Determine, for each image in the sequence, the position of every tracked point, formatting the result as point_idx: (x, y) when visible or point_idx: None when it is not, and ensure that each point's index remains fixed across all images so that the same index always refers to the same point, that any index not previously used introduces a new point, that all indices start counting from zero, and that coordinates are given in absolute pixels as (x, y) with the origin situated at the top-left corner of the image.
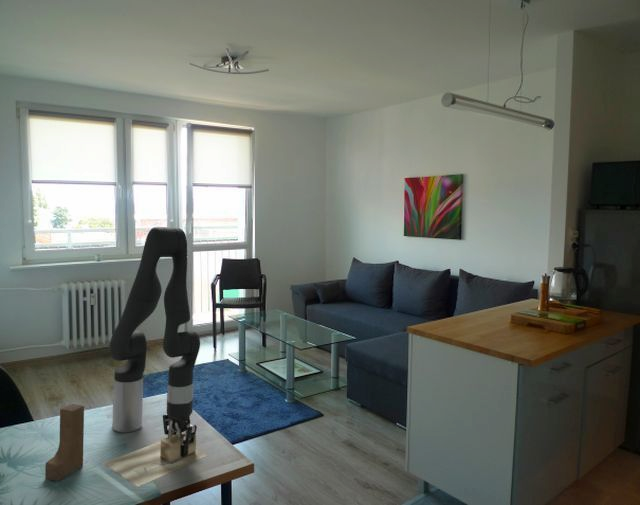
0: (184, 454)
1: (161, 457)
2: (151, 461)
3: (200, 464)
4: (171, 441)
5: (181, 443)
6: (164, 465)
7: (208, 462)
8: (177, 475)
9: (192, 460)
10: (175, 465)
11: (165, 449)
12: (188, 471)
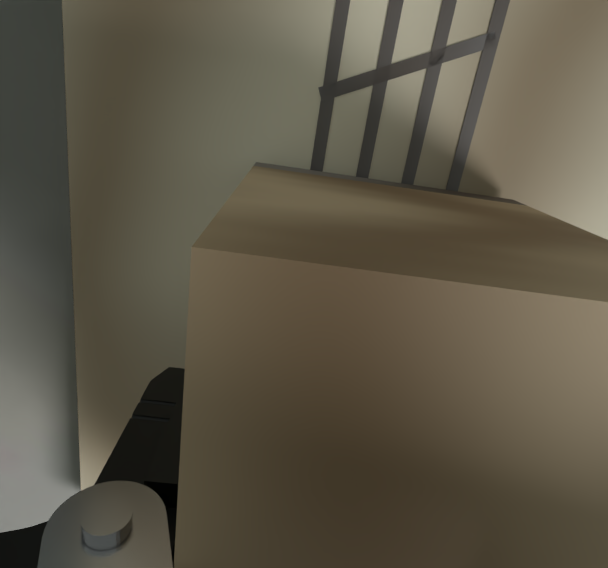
0: (149, 383)
1: (490, 198)
2: (575, 50)
3: (66, 410)
4: (403, 444)
5: (112, 521)
6: (307, 85)
7: (41, 473)
8: (42, 81)
9: (114, 394)
10: (175, 184)
11: (445, 225)
12: (29, 237)
